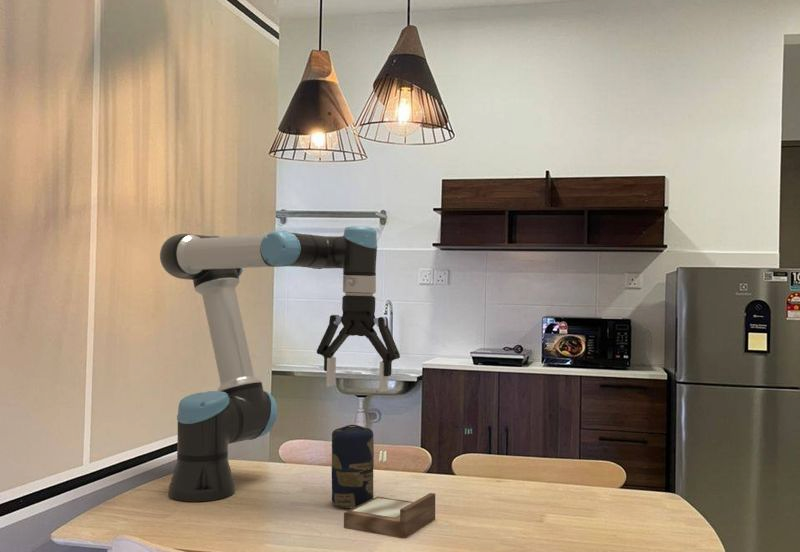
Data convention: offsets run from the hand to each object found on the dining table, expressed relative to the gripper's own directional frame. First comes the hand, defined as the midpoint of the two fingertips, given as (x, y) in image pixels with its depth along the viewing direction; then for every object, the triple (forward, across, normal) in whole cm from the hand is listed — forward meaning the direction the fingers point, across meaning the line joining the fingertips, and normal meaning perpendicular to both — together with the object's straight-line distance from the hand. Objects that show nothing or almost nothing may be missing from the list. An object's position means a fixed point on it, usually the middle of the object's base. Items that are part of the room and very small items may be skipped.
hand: (356, 388), depth 168 cm
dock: (+26, +14, -9) cm, 31 cm away
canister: (+26, 0, 0) cm, 26 cm away
